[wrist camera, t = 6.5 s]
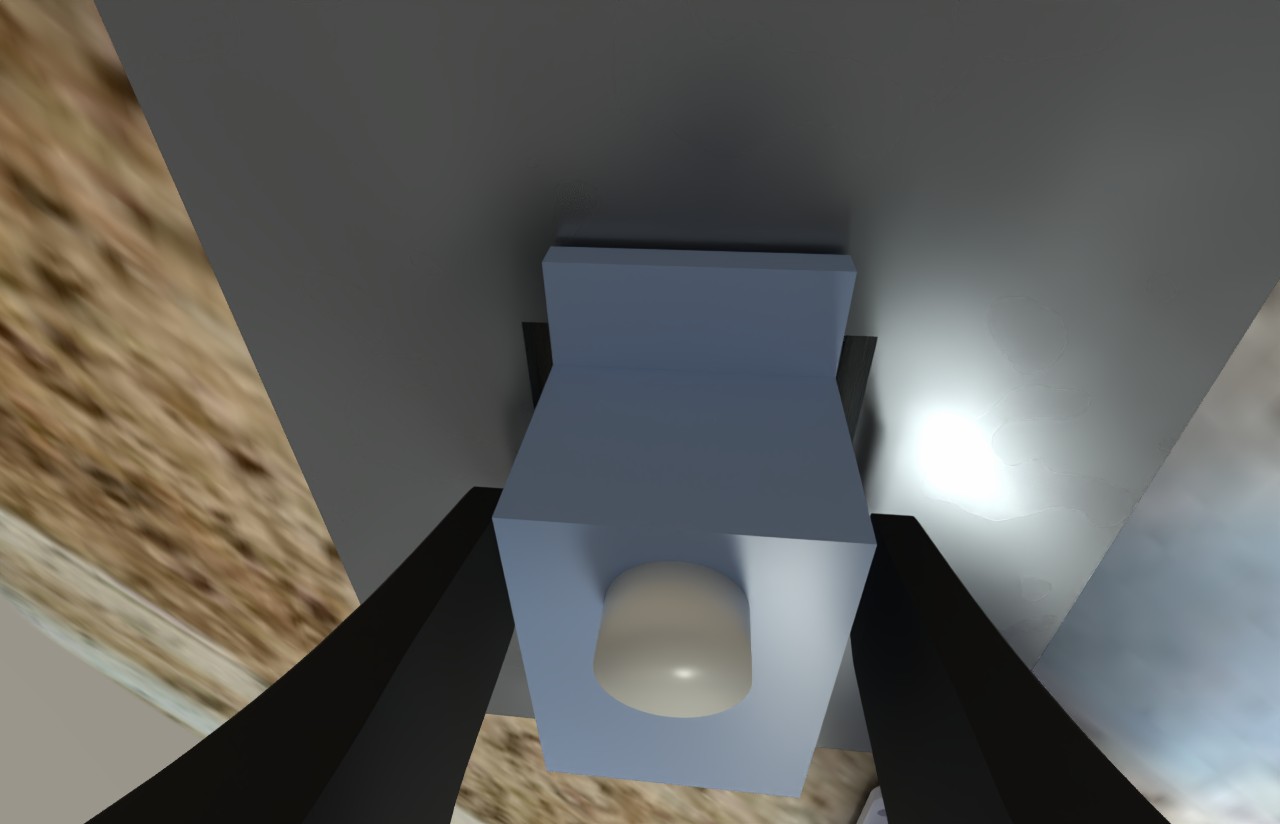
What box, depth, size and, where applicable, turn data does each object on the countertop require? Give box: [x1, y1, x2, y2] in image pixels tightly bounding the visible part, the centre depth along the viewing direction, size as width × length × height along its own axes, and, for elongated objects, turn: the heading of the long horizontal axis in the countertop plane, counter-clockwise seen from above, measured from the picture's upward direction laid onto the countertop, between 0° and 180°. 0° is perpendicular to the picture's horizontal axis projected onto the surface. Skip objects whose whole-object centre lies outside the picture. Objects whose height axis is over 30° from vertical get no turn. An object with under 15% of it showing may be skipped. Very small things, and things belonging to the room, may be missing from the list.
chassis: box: [94, 0, 1280, 753], centre depth 12 cm, size 16×14×2 cm
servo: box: [492, 246, 877, 798], centre depth 10 cm, size 9×4×6 cm, turn 1°
